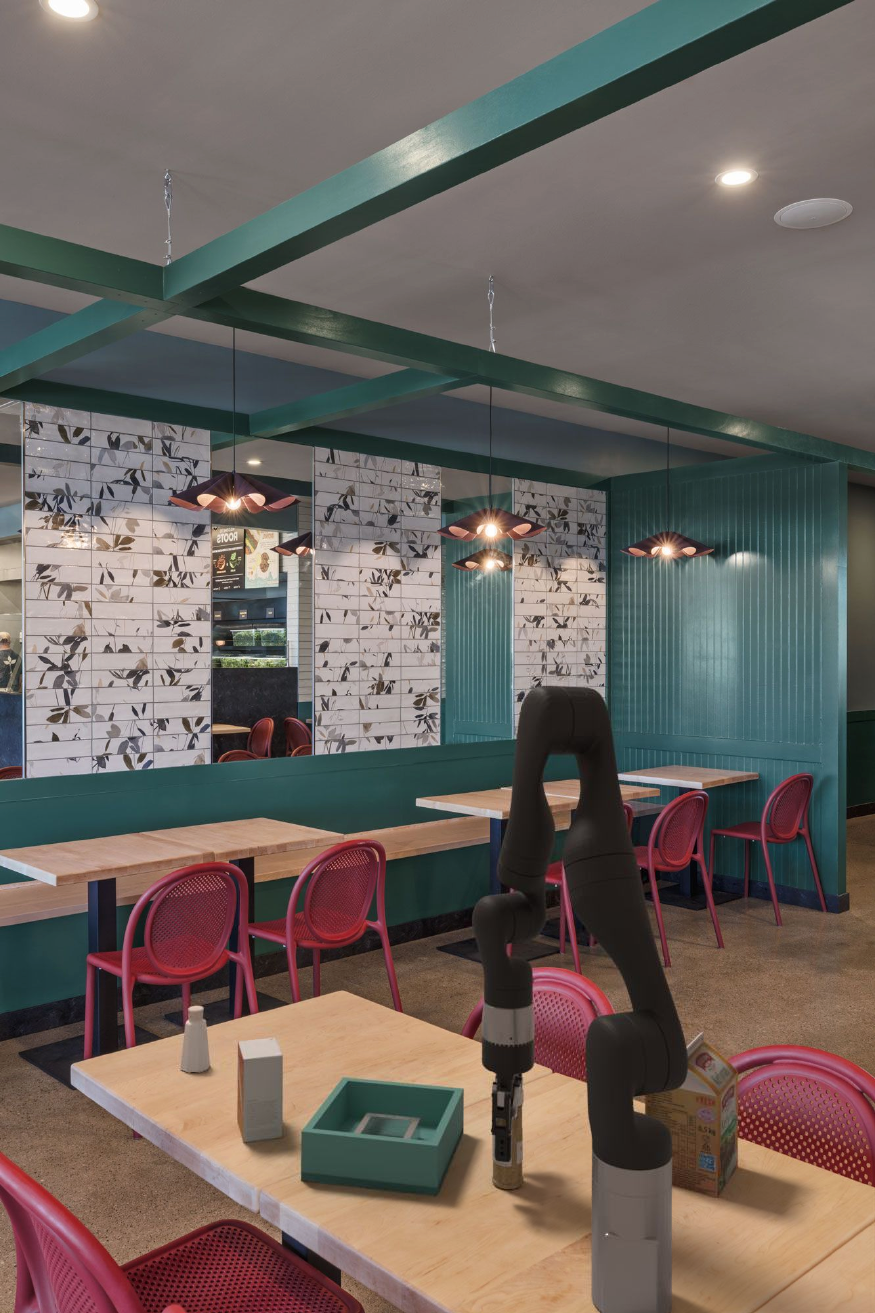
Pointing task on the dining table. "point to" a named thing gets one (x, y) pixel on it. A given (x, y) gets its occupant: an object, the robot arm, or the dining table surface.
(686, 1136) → the milk carton
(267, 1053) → the small box
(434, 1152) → the walled box
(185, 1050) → the salt shaker
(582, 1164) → the dining table surface
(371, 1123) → the socket collar
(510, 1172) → the sprinkles bottle
